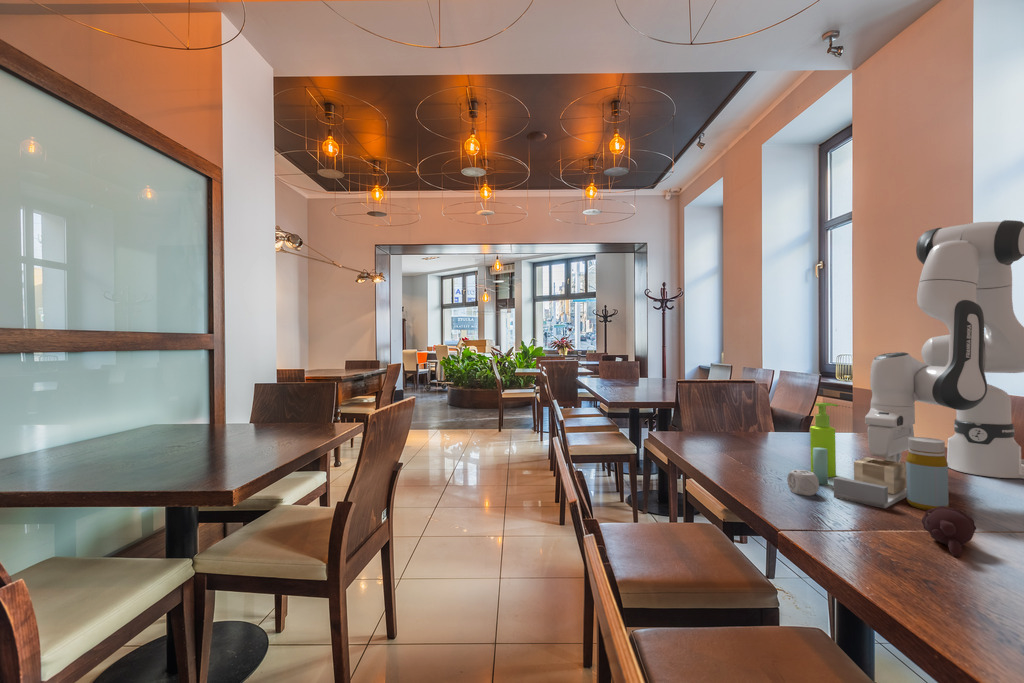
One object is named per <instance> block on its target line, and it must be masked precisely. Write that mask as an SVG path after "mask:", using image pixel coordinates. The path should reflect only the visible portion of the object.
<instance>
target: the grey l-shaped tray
mask: <svg viewBox="0 0 1024 683" xmlns="http://www.w3.org/2000/svg"><path fill="white" fill-rule="evenodd" d="M833 497H834V498H837V499H841V500H846V501H849V502H850V501H851V502H854V503H858V504H864V505H867V506H871V507H874V508H875V507H877V508H879V509H887V508H889V507H891V506H893V505H894V504H896V503H898V502H899V501H902V500H904V499H905V498H906V499H907V487H906V488H905V489H903V490H901V491H899V492H897V493H895V494H891V493H888V487H886V486H881V485H876V484H871V483H866V482H861V481H856V480H854V479H850V478H846V477H845V478H844V477H840V476H835V477H833Z"/></svg>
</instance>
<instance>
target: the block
mask: <svg viewBox="0 0 1024 683" xmlns="http://www.w3.org/2000/svg"><path fill="white" fill-rule="evenodd" d="M853 480H856V481H861V482H866V483H871V484H876V485H881V486H886V487H888V493H891V494H895V493H897V492H899V491H901V490H903V489H905V488H907V485H906V462H905V463H904V462H901V461H900V462H894V461H887V460H885V459H880V458H875V457H874V458H873V457H869V456H868V457H867V456H866V457H863V458H861V459H858V460H855V461H853Z"/></svg>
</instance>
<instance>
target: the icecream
mask: <svg viewBox="0 0 1024 683" xmlns="http://www.w3.org/2000/svg"><path fill="white" fill-rule="evenodd" d="M920 521H921V524H922V525H923V529H924V530H925V531H926V532H928V533H929V535H930V537H931V538H932V539H933V540H935V541H936V542H938V543H942V544H943V545H946V546H947V547H948V549H949V553H951V555H952V556H953V557H960V556H962V553H963V546H964V545H965V544H967V543H968V542H971V540H972V539H973V537H974V534H975V531H976V530H977V526H976V524H975V522H976V521H975V520H974V518H973V517H971V515H967V514H966V513H965V512H964V511H962V510H960V509H958V508H955V507H949V506H948V507H945V506H939V507H937V508H933V509H930V510H926V511H925V514H924V515H923V517H922V518H921V519H920Z"/></svg>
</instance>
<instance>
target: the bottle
mask: <svg viewBox="0 0 1024 683" xmlns="http://www.w3.org/2000/svg"><path fill="white" fill-rule="evenodd" d="M908 447H909V449H908V453H907V455H906V458H905V463H906V488H907V497H906V501H907V502H908V504H909V505H910V506H911V507H914V508H916V509H920V510H922V511H923V510H924V511H928V510H930V509H933V508H937V507H939V506H945V507H949V467H948V463H947V457H945V456H946V453H945V451H946V444H945V441H944V440H942V439H939V438H931V437H921V436H914V437H910V438H909V439H908Z"/></svg>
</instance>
